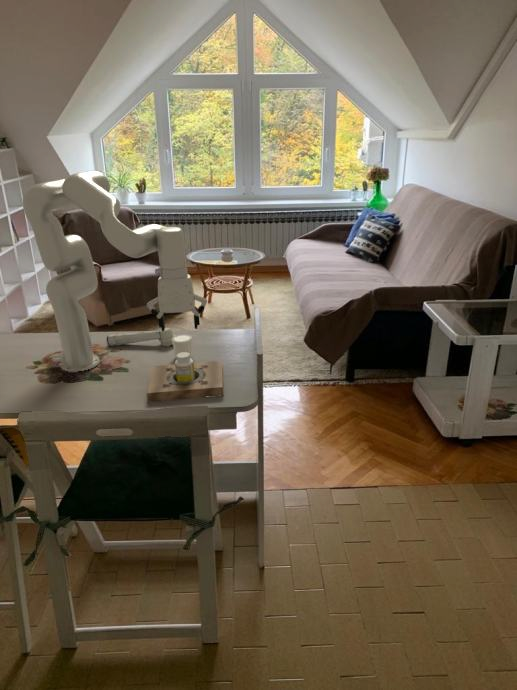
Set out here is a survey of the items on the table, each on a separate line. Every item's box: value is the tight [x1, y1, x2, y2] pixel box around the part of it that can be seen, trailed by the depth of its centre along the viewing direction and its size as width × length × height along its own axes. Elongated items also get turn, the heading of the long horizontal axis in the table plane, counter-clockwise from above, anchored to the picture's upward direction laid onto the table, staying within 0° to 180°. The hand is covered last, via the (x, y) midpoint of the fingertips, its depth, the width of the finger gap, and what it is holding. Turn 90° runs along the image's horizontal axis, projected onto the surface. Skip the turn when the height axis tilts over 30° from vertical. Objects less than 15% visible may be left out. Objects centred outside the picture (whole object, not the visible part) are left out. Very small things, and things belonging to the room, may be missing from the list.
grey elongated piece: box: [106, 327, 177, 347], centre depth 199 cm, size 5×7×25 cm
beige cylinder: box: [172, 333, 193, 360], centre depth 187 cm, size 7×7×7 cm
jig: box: [146, 360, 224, 403], centre depth 168 cm, size 22×18×3 cm
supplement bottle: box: [174, 352, 196, 382], centre depth 167 cm, size 6×6×10 cm
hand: (179, 328), depth 161 cm, fingers open, 9 cm apart
